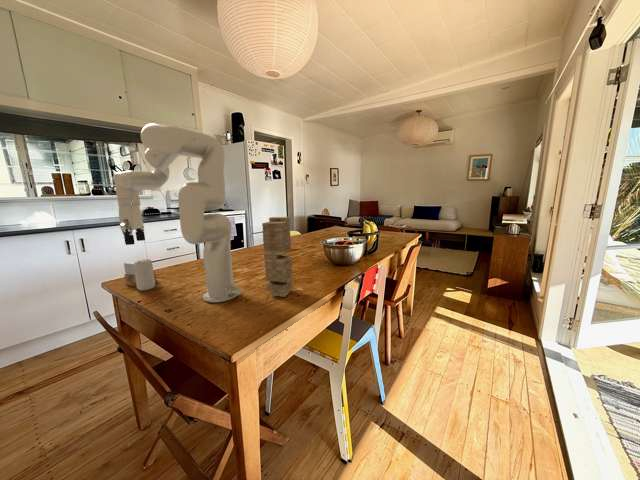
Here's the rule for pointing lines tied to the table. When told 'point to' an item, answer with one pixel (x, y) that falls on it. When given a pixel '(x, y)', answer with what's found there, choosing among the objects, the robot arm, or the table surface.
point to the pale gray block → (130, 267)
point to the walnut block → (133, 279)
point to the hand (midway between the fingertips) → (135, 242)
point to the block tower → (277, 255)
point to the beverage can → (144, 274)
